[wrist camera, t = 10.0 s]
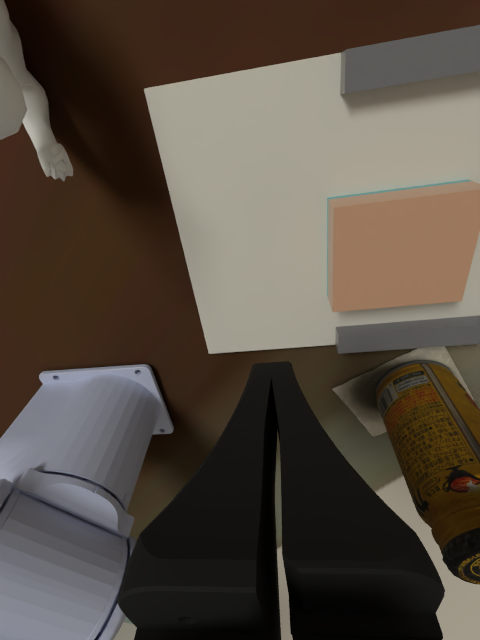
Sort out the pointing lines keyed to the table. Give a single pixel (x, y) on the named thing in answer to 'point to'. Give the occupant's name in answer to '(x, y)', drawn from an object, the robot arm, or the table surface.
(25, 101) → the person figurine
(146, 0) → the table surface
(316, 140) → the board
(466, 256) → the tile
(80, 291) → the table surface
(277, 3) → the table surface
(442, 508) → the condiment
